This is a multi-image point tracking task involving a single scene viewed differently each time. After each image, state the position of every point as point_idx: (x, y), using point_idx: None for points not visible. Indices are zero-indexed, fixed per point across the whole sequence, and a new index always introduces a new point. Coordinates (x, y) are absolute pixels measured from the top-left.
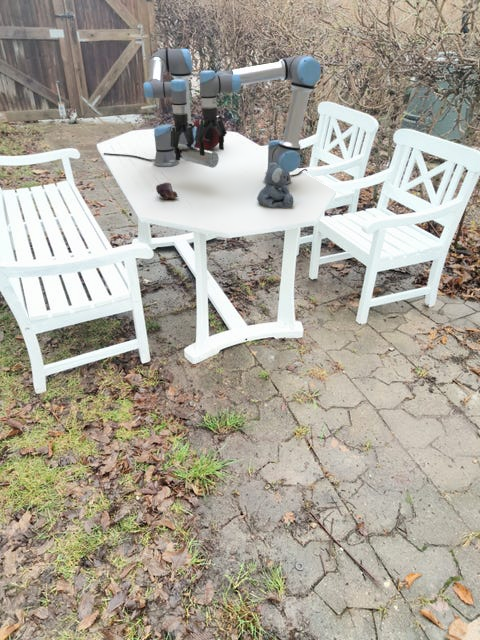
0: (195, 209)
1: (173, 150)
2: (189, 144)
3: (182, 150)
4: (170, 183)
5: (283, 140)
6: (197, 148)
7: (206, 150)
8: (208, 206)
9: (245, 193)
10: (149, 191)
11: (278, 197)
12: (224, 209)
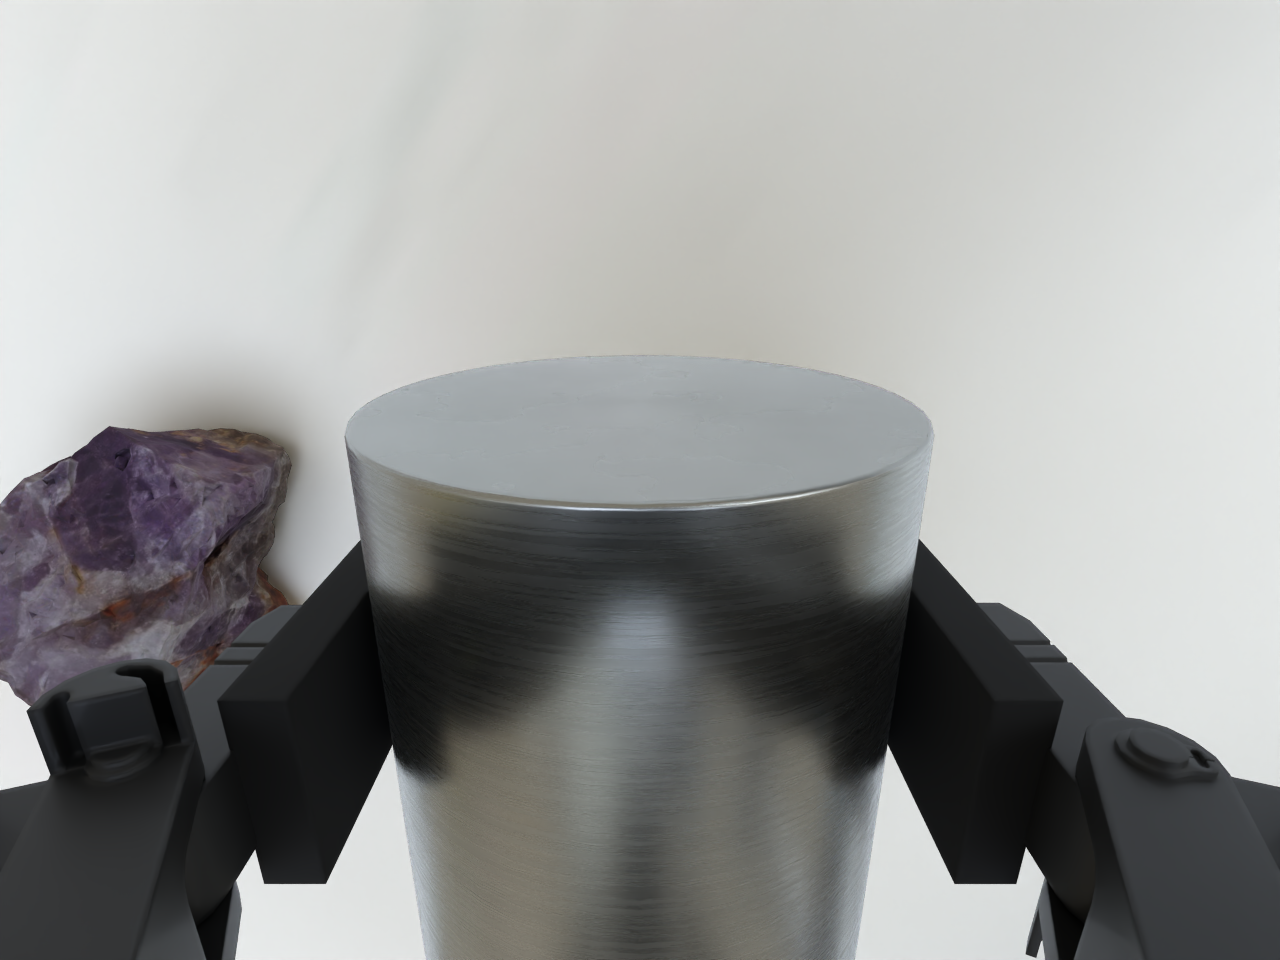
0: (287, 900)
1: (346, 435)
2: (1029, 824)
3: (421, 908)
4: (154, 655)
5: None
6: None
7: None
8: (418, 923)
9: (885, 932)
10: (145, 129)
11: None
12: None
